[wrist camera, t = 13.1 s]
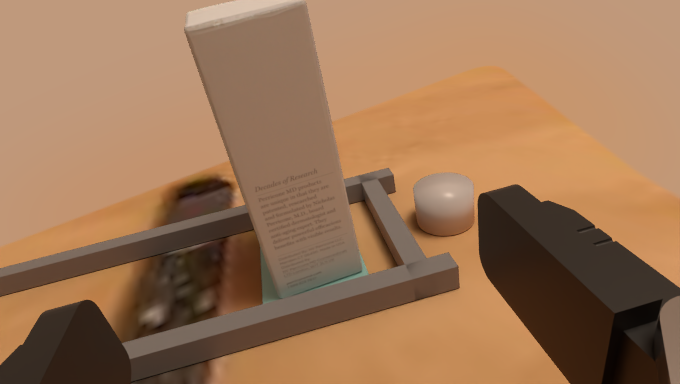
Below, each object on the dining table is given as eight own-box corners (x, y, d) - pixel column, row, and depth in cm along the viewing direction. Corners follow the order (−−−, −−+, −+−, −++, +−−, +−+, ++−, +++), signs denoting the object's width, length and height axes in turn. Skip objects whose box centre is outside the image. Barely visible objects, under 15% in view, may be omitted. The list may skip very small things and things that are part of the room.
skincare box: (260, 234, 24) (184, 11, 18) (331, 211, 25) (279, -11, 19) (277, 305, 19) (179, 25, 13) (366, 274, 20) (310, -6, 14)
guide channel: (-127, 455, 16) (-167, 425, 15) (2, 286, 25) (-18, 260, 24) (524, 269, 19) (525, 232, 18) (435, 172, 27) (433, 144, 26)
